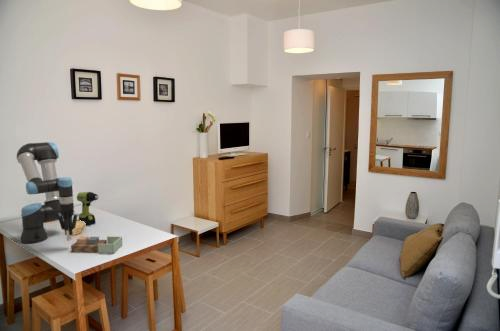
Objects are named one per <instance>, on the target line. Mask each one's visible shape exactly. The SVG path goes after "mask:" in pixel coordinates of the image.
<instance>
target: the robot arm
mask: <svg viewBox="0 0 500 331" xmlns="http://www.w3.org/2000/svg"><path fill="white" fill-rule="evenodd" d="M59 152H60V151H59V149H58V147H57V145H56V144H55V143H54V142H52V141H51V142H48V141H47V142H34V143H33V142H32V143H31V142H30V143H26V144H23V145H22V146H21V147H20V148H19V149H18V150H17V153H16V161H17V163H19V164H20V165H21V168H22V170H23V173H24V176H25V179H26V181H27V182H26V183H25V189H26V190H25V191H26V193H27V194H28V195H29V196H30V195H38V194H45V201H44V202H43V204H42V203H40V202H36V203H30V204H27V205H25V206H23V207H22V208H21V213H20V215H21V219H22V220H21V223H22V231H21V232H22V233H21V236H20V243H22V244H26V245H27V244H36V243H37V244H38V243H41V242H44V241H46V240H47V239H48V238H49V237H48V233H47V231H46V229H45V227H44V223H49V222H53V221H54V222H55V221H58V222H59V225H60V228H61V230H64V234H65V235H66V241H68V242H70V241H71V240H72V239H73V238H72V235H73V230H74V229H76V226H77V221H78V220H77V219H78V218H79V214H80V213H76V212H75V210H74V209H75V206H74V195H73V180H72V178H71V177H68V176H65V177H58V174H57V168H56V163H57V162H58V161H57V160H58V159H59V157H60V156H59V155H60V154H59ZM35 161H37V164H38V165H39V166H40V169H41V173H40V171H39V169H38V167H37V165H36V162H35ZM41 174H42V176H41Z"/></svg>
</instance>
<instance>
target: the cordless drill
mask: <svg viewBox="0 0 500 331" xmlns="http://www.w3.org/2000/svg"><path fill="white" fill-rule="evenodd" d="M98 199H99V195H98V194H97V193H94V192H92V191H80V192H78V193H77V195H76V200H77V201H78V202H81V203H82V206H81V211H82V212H81V213H78V214H79V215H78V221H79V220H81V221H84V222H85V223H86V227H90V226H93V225H95V224H96V217H95V215H94V213H91V212H90V206H91V203H92V202H94V201H98Z"/></svg>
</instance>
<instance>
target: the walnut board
mask: <svg viewBox="0 0 500 331" xmlns="http://www.w3.org/2000/svg"><path fill="white" fill-rule="evenodd" d="M98 244H108V243H107V239H99V242H98V243H96V244H87V243H86V244H77V241H76V242H74V243H73V244H72V245H71V246H70V249H71V253H88V254H89V253H93V254H94V253H95V254H97V253H98ZM98 254H99V253H98Z"/></svg>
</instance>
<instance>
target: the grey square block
mask: <svg viewBox="0 0 500 331" xmlns="http://www.w3.org/2000/svg"><path fill="white" fill-rule="evenodd" d="M99 240H100V237H99V236H90V237H89V238H88V239H87V244H96V243H98V242H99Z"/></svg>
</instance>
